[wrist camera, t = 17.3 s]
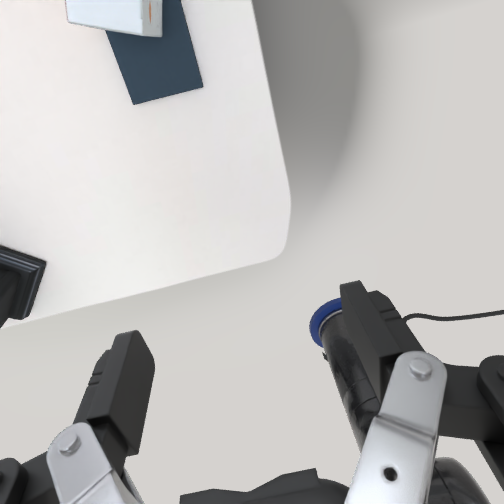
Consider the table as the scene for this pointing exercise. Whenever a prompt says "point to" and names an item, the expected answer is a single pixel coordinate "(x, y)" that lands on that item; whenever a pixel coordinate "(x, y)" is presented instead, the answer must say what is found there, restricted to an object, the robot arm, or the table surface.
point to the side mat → (158, 58)
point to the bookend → (18, 283)
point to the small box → (118, 15)
